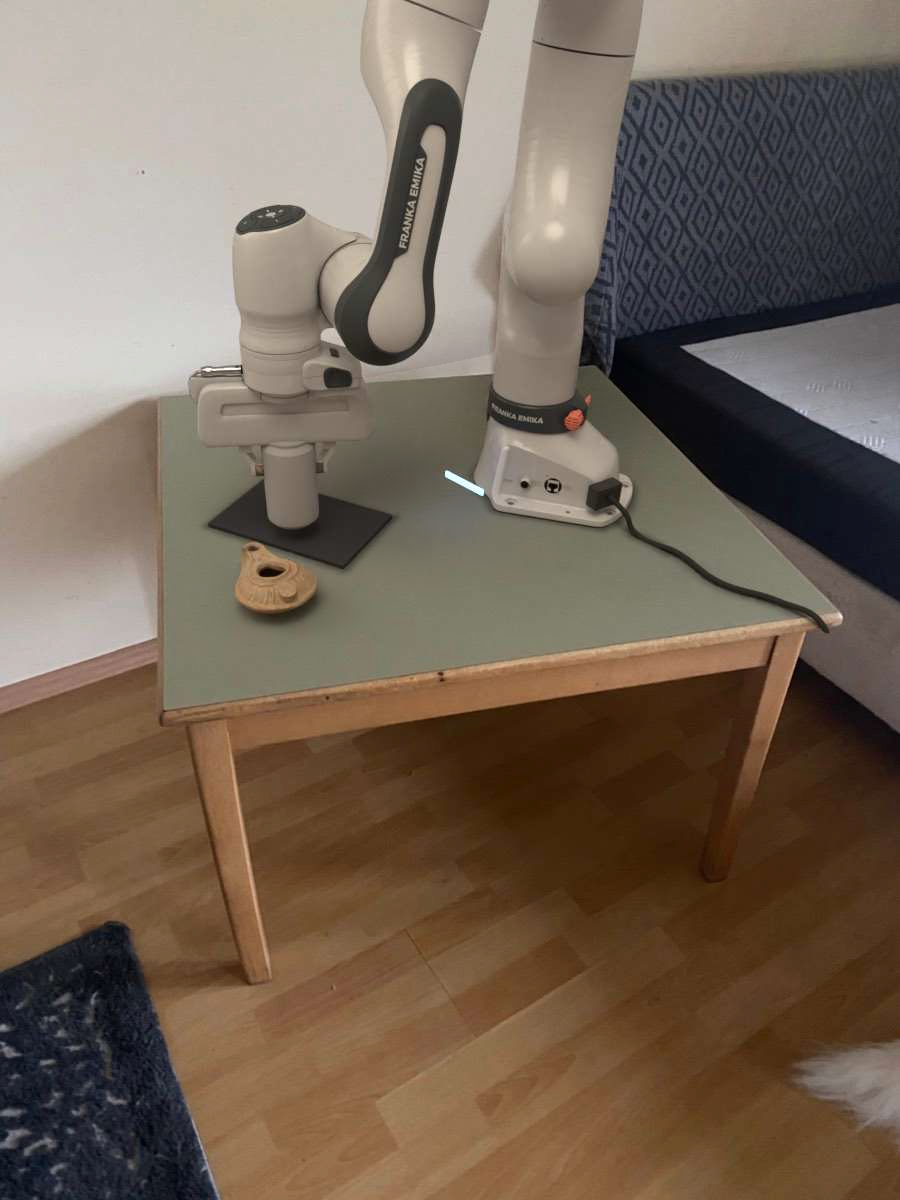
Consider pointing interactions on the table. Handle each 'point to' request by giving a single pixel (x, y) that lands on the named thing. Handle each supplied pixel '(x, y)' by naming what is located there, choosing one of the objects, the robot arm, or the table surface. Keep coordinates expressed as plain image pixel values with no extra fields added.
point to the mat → (323, 540)
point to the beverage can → (290, 483)
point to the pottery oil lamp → (272, 581)
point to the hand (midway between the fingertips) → (290, 472)
